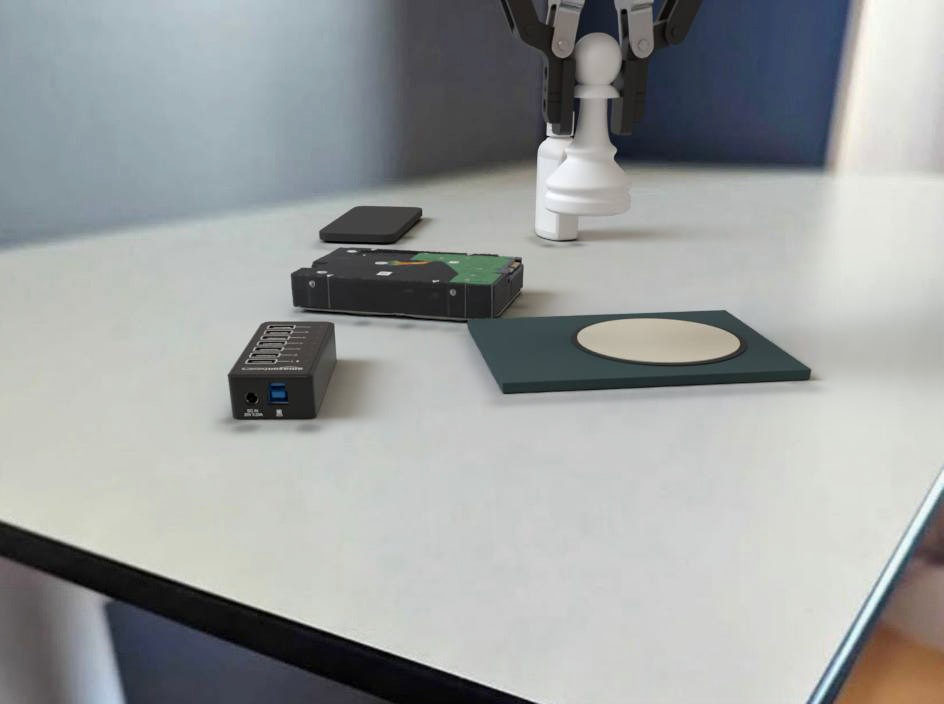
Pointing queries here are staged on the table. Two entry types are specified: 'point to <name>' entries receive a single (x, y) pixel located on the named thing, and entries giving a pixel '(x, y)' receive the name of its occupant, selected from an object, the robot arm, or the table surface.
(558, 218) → the eye dropper bottle
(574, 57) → the chess pawn
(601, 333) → the drawing mat
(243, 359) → the multiport hub
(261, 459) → the table surface
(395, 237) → the phone
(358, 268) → the disk drive
